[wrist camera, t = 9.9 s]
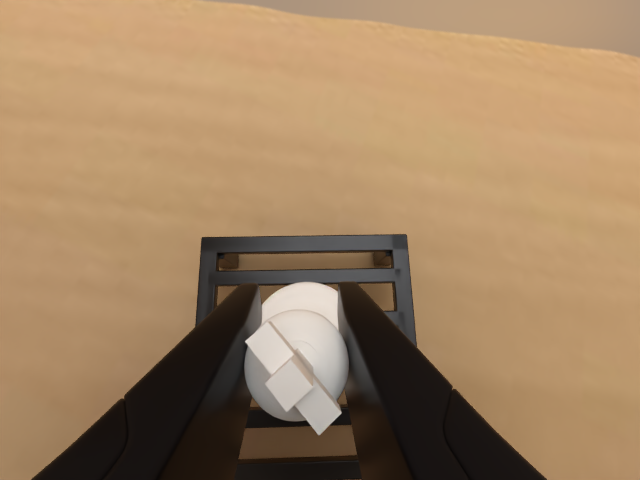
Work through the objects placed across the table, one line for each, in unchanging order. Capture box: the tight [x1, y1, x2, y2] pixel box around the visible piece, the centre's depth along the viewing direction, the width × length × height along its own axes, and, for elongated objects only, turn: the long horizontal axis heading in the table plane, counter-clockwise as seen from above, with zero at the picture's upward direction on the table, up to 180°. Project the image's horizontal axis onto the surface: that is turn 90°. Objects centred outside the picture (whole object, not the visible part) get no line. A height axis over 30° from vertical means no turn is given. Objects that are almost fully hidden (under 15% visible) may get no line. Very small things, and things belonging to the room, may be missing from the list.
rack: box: [195, 234, 417, 480], centre depth 15 cm, size 14×10×4 cm
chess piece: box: [244, 282, 349, 435], centre depth 9 cm, size 5×5×10 cm
